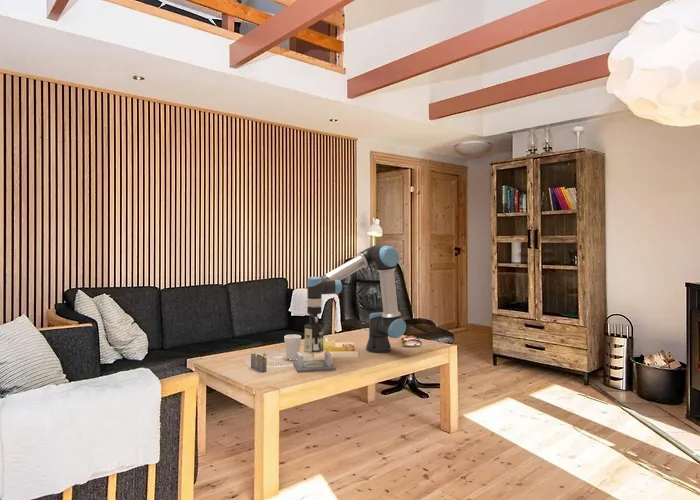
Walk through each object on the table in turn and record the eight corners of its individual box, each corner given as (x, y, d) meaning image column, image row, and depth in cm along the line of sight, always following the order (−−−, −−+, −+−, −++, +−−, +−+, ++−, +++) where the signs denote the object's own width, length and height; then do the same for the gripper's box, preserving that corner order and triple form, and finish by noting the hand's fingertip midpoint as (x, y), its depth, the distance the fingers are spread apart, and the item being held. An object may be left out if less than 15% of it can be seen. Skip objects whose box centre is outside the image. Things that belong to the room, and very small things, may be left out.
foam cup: (286, 356, 277) (286, 334, 276) (302, 357, 276) (302, 334, 275) (282, 361, 267) (282, 337, 267) (298, 361, 266) (299, 338, 266)
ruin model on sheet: (267, 372, 247) (267, 353, 247) (262, 373, 245) (262, 354, 245) (256, 367, 255) (256, 349, 255) (251, 368, 253) (251, 350, 253)
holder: (329, 361, 266) (329, 348, 266) (335, 370, 250) (335, 356, 250) (293, 363, 262) (293, 350, 261) (297, 372, 245) (297, 358, 245)
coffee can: (325, 349, 259) (325, 323, 259) (320, 354, 249) (320, 327, 249) (307, 348, 262) (307, 323, 261) (301, 353, 251) (301, 326, 251)
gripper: (304, 303, 265) (303, 343, 265) (310, 309, 243) (310, 353, 243) (317, 303, 267) (317, 342, 267) (325, 309, 245) (325, 352, 245)
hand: (313, 347), depth 255 cm, fingers closed on coffee can, 10 cm apart
